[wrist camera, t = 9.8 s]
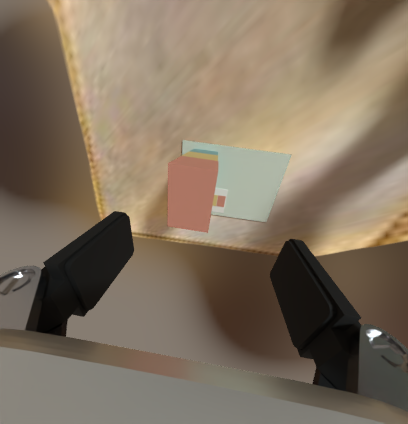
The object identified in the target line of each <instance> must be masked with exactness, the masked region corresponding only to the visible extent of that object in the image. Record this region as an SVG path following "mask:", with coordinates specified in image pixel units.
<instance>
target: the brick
mask: <svg viewBox="0 0 408 424" xmlns="http://www.w3.org/2000/svg"><path fill="white" fill-rule="evenodd" d="M218 164H219V161H214V160H208V159H201V158H194V157H187V156H180V157H179V158H177V159H175V160H173V161H171V162H170V163H168V226H169V227H175V228H182V229H188V230H194V231H201V232H207V233H208V229H209V223H210V217H211V211H212V205H213V199H214V193H215V187H216V182H217V176H218Z"/></svg>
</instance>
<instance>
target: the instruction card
mask: <svg viewBox="0 0 408 424" xmlns="http://www.w3.org/2000/svg"><path fill="white" fill-rule="evenodd" d="M227 193H228V190H226V189H219V188H215V193H214V199H213V205H212V211H214V212H221V213H224V208H225V203H226V198H227Z"/></svg>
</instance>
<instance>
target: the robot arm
mask: <svg viewBox="0 0 408 424" xmlns="http://www.w3.org/2000/svg"><path fill="white" fill-rule="evenodd" d="M133 252H134V246H133V239H132V232H131V225H130V219H129V216H127V214H126V213H123V212H117V211H115V212H113V213H111V214H110V215H109V216H107V217H106V218H105V219H103V220H102V221H100V222H99V223H98V224H96V225H95V226H93V227H92V228H91V229H90V230H88V231H87V232H85V233H84V234H82V235H81V236H80V237H78V238H77V239H76V240H74V241H73V242H71V243H70V244H68V245H67V246H66V247H64V248H63V249H62V250H60V251H59V252H58V253H56V254H55V255H53V256H52V257H50V258H49V259H48V260H46V261H45V262H44V265H45V267H44V268H43V269H42V270H41V269H40V268H39V267H37V266H24V267H19V268H16V269H13V270H10V271H8V272H5V273H4V274H1V275H0V424H408V349H407V348H406V347H405V346H404V345H403V344H402V343H400V342H399V341H398V340H397V339H396V338H394V337H393V336H392V335H390V334H389V333H387V332H386V331H384V330H382V329H380V328H379V327H376V326H373V325H369V324H364V325H362V326H361V324H360V323H359V322H358V320H359V319H361V317H360V315H359V314H358V313H357V312H356V310H355V309H354V308H353V306H352V305H351V304H350V303H349V301H348V300H347V298H346V297H345V296H344V294H343V293H342V292H341V291H340V289H339V288H338V287H337V285H336V284H335V283H334V282H333V280H332V279H331V277H330V276H329V275H328V273H327V272H326V271H325V270H324V268H323V267H322V266H321V265H320V263H319V262H318V260H317V259H316V258H315V256H314V255H313V254H312V253H311V251H310V250H309V249H308V247H307V246H306V245H305V243H304V242H303V241H301V240H295V239H290V240H289V241H286V242H285V244H284V246H283V248H282V250H281V252H280V254H279V256H278V258H277V260H276V262H275V264H274V266H273V268H272V270H271V273H270V278H271V281H272V284H273V287H274V290H275V293H276V296H277V299H278V302H279V305H280V307H281V311H282V313H283V316H284V319H285V322H286V325H287V328H288V331H289V334H290V337H291V340H292V342H293V345H294V346H295V347H296V348H297V349H298V352H299V355H300V357H304V358H310V359H314V362H315V364H316V370H315V374H314V379H313V384H309V383H305V382H299V381H295V380H289V379H284V378H279V377H274V376H269V375H264V374H259V373H254V372H249V371H243V370H239V369H234V368H229V367H223V366H218V365H213V364H208V363H202V362H197V361H192V360H187V359H181V358H177V357H171V356H166V355H161V354H156V353H150V352H144V351H139V350H135V349H129V348H124V347H118V346H112V345H108V344H102V343H97V342H92V341H86V340H81V339H75V338H70V337H66V331H67V321H68V318H69V317H70V316H71V315H72V314H73V315H77V316H85V315H86V313H87V312H88V311H89V310H91V309H92V308H94V306H95V305H96V304H97V302H98V301H99V300H100V298H101V297H102V296H103V294H104V293H105V291H106V290H107V289H108V288H109V286H110V284H111V283H112V282H113V281H114V279H115V278H116V277H117V275H118V274H119V273H120V271H121V270H122V269H123V267H124V266H125V264H126V263H127V262H128V260H129V259H130V258H131V256H132V255H133Z"/></svg>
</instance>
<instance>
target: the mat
mask: <svg viewBox="0 0 408 424" xmlns="http://www.w3.org/2000/svg"><path fill="white" fill-rule="evenodd" d="M193 149H202V150H209V151H216V152H218V161H219V164H218V176H217V182H216V187H215V188H219V189H226V190H228V193H227V198H226V203H225V208H224V213H221V212H214V211H211V214H212V215H219V216H226V217H233V218H240V219H247V220H253V221H260V222H267V219H268V216H269V214H270V211H271V208H272V206H273V203H274V200H275V198H276V195H277V192H278V190H279V187H280V184H281V182H282V179H283V176H284V174H285V171H286V168H287V166H288V163H289V160H290V158H291V154H283V153H276V152H268V151H261V150H253V149H246V148H238V147H230V146H223V145H215V144H208V143H200V142H193V141H185V140H183V146H182V155H183V154H185V153H187V152H189V151H191V150H193Z"/></svg>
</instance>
